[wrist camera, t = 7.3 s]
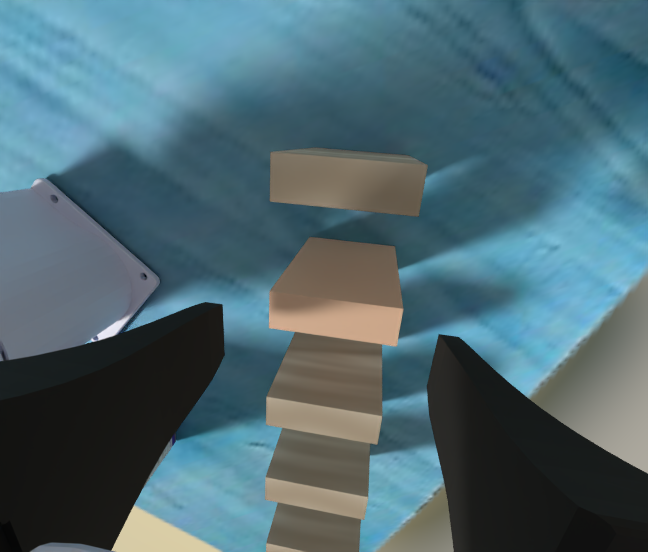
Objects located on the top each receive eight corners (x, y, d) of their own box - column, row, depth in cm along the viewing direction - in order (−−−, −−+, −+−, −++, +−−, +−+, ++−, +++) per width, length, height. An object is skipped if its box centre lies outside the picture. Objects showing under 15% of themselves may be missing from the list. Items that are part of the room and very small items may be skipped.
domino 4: (300, 374, 24) (265, 477, 17) (372, 386, 24) (368, 497, 16) (299, 393, 25) (265, 499, 17) (369, 404, 24) (364, 519, 17)
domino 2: (309, 236, 20) (269, 291, 13) (394, 246, 20) (403, 308, 12) (308, 262, 21) (268, 328, 14) (390, 272, 20) (396, 346, 13)
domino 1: (314, 147, 19) (270, 152, 11) (408, 155, 18) (427, 165, 11) (312, 178, 19) (269, 201, 12) (403, 186, 19) (418, 216, 11)
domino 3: (304, 312, 22) (266, 396, 15) (381, 322, 22) (382, 416, 14) (302, 333, 23) (266, 424, 16) (378, 344, 22) (377, 444, 15)
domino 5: (298, 429, 26) (266, 542, 19) (364, 441, 26) (358, 563, 18) (297, 445, 27) (266, 561, 19) (362, 456, 26) (355, 581, 19)
